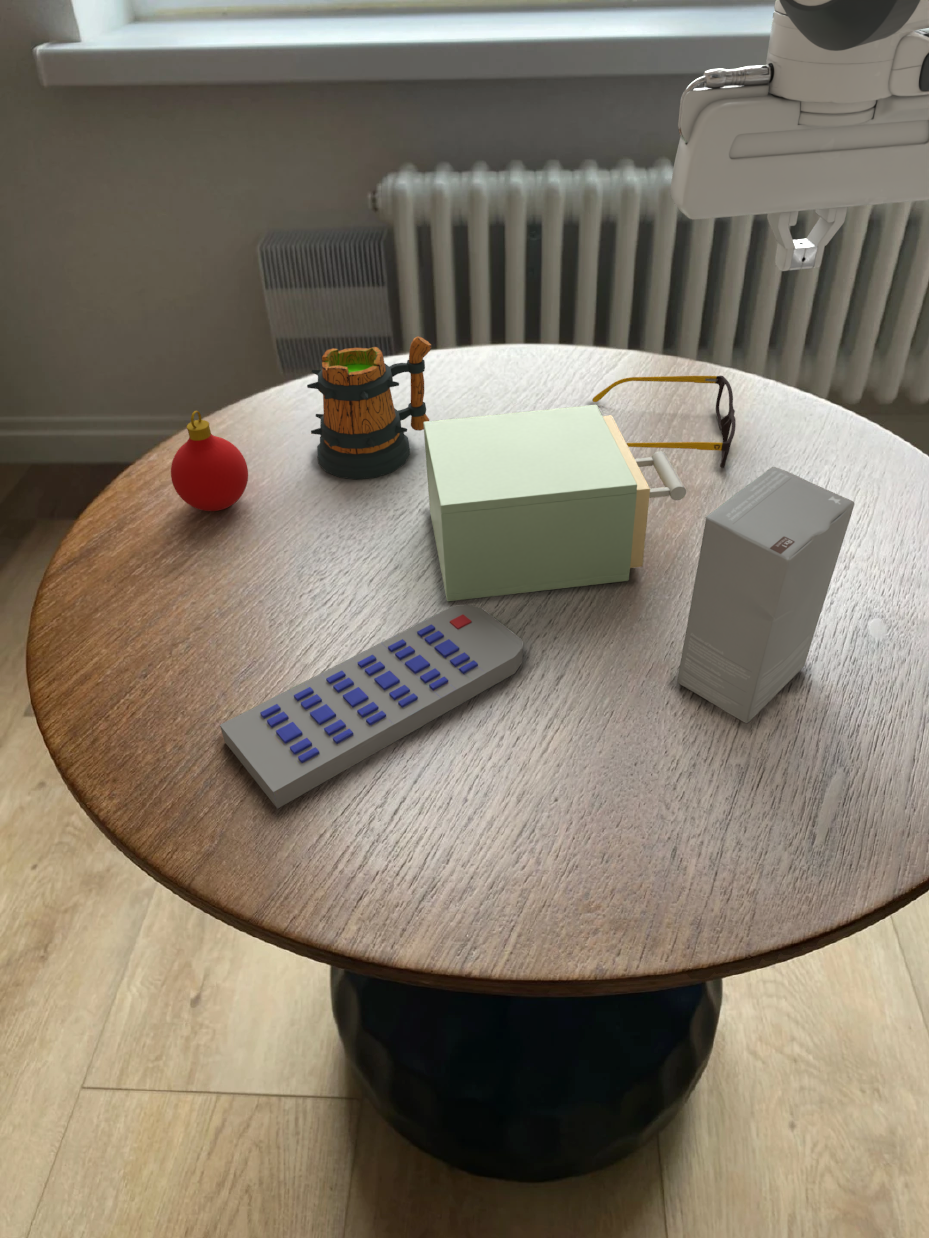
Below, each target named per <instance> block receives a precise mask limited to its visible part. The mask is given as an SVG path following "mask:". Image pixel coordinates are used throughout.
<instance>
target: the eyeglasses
mask: <svg viewBox="0 0 929 1238" xmlns="http://www.w3.org/2000/svg"><path fill="white" fill-rule="evenodd" d="M628 382H629V383H630V382H659V383H661V382H663V383H664V382H665V383H694V384H716V385H718V391H717V397H716V402H715V414H716V418H717V422H718V427H719V430H720V431H721V438H722V442H718V441H717V442H716V441H715V442H713V441H711V442H710V441H671V442H670V441H668V442H667V441H665V442H663V441H662V442H659V441H658V442H626V443H627V445H628V447H629V448H650V449H685V450H699V451H719V452H721V459H720V465H719V467H720V468H724V467H725V465H726V462H727V459H728V456H729V453H730V448H731V445H732V442H733V439H734V437H735V432H736V425H737V423H736V420H737V419H736V417H735V409H734V393H733V389H732V386H731V384H730V382H729V381H728V379H727V378H726V376H725V377H724V376H723V375H667V376H665V375H664V376H662V375H661V376H631V377H624V378H621V379H619V380H615V381H614V382H613V383H611V384H610V385H608V386H607V387H606V388H604V389H603V390H601V391H600V392H599V393H597V394H595V396H593V398H592V403H597V402H599V401H601V399H602V398H604V397H605V396H606V395H607V394H608V393H610V391H611V390H612V389H613V388H615V387H617V386H619V385H621V384H625V383H628ZM725 386H726V388H727V393H728V412H727V414H726V415H725V416H724V417H722V416H721V411H720V403H721V400H722V395H723V391H724V388H725Z"/></svg>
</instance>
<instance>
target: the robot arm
mask: <svg viewBox="0 0 929 1238" xmlns="http://www.w3.org/2000/svg"><path fill="white" fill-rule="evenodd" d="M926 29H929V0H775V2H774V7H773V13H772V21H771V27H770V34H769V41H768V46H767V47H768V48H767V55H766V61H765V63H766V64H760V65H747V66H743V67H738V68H730V69H728V68H727V69H726V68H719V67H718V68H711V69H708V70H705V71H704V72H703V74H702V76H700V77H698V78H696V79H695V80H693V81H692V82H691V83H689V85H687V86H686V88H685V89H684V91H683V92H682V94H681V97H680V101H679V109H678V119H677V128H678V135H679V136H680V137H679V141H678V145H677V150H676V154H675V159H674V163H673V169H672V175H671V182H670V189H669V190H670V191H669V192H670V193H669V194H670V198H671V200H672V202H673V204H674V205H675V207H676V208H677V209H678V210H679V211H680V212H681V213H682V214H683V215H684V216H685V217H686V218H688V219H689V220H693V221H694V220H709V219H718V218H730V217H731V218H732V217H743V216H754V215H766V214H767V216H766V219H767V222H768V224H769V226H770V229H771V231H772V233H773V236H774V238H775V240H776V242H777V244H776V245H777V246H776V251H775V257H774V264H775V267H776V268H777V269H778V270H779V271H780V272H788V271H797V270H811V269H818V268H820V267H821V265H822V261H823V256H824V252H825V251H824V250H825V246H827V245H828V244H829V243H830V241H832V239H833V237H834V236H835V235H836V233H837V232H838V231H839V230H840V228H841V227H842V226H843V225H844V223H845V221H846V216H847V212H848V208H849V207H862V206H863V207H864V206H874V205H886V204H896V203H908V202H920V201H929V32H927V31H924V30H926ZM700 85H702V86H703V87H698V86H700ZM814 210H815V214H816V215H817V216H819V218H818V220H817V221H816V223H815V224H814V226H813V228H812V229H811V230H810V232H809V234H808V235H807V237H806V238H798V239H793V236H792V234H791V231H790V228H789V227H791V226H792V227H795V226H796V225H797V222H798V217H799V212H803V211H814Z"/></svg>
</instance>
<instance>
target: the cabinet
mask: <svg viewBox="0 0 929 1238" xmlns="http://www.w3.org/2000/svg"><path fill="white" fill-rule="evenodd" d="M603 416H604V415H603V414H602V412H601V410H600V408H599V406H598V405H597V404H587V405H577V406H567V407H559V408H558V407H557V408H549V409H538V410H528V411H518V412H507V413H499V414H498V413H497V414H489V415H488V414H486V415H478V416H477V415H476V416H467V417H458V418H448V419H447V418H445V419H440V420H439V419H438V420H429V421H426V422H423V425H424V430H423V436H424V437H423V438H424V451H425V464H426V476H427V489H428V492H427V493H428V503H429V513H430V514H429V515H430V521H431V525H432V529H433V530H432V531H433V536H434V540H435V545H436V551H437V556H438V562H439V568H440V572H441V577H442V583H443V588H444V593H445V598H446V602H455V601H463V600H472V599H480V598H490V597H498V596H507V595H517V594H525V593H532V592H533V593H534V592H542V591H543V592H544V591H550V590H560V589H561V590H562V589H570V588H577V587H587V586H594V585H595V586H596V585H603V584H605V585H606V584H611V583H613V584H614V583H622V582H629V580H630V573H631V568H630V563H631V551H632V540H633V529H634V518H635V507H636V495H637V483H636V481H635V479H634V477H633V475H632V473H631V471H630V469H629V468H628V466H627V464H626V462H625V460H624V458H623V456H622V454H621V452H620V450H619V448H618V446H617V444H616V442H615V440H614V438H613V436H612V434H611V432H610V430H609V428H608V426H607V424H606V422H605V420H604V418H603Z"/></svg>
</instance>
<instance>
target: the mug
mask: <svg viewBox="0 0 929 1238" xmlns="http://www.w3.org/2000/svg"><path fill="white" fill-rule="evenodd" d="M431 349H432V344H431V343H430V342H429V341H428V340H426V339H425V338H423V337H421V336H416V337H414V338H413V339H412V341H411V343H410V346H409V351H408V359H407V360H406V362H397V363H393V364H391V365H388V364H386V363H385V358H384V355H383V351H382V350H381V349H380V348H379V347H378V346H373V347H369V348H366V347H351V348H344V349H338V348H336V347H333V348H329V349H326V350H325V352H323V355H322V356H321V369H312V370H311V373H312V374H314V375H316V376H317V381H315V382H312V383H309V384H307V385H306V387H307V389H312V390H317V391H318V392H320V393H321V394H322V404H323V405H322V406H323V408H322V409H323V411H322V412H323V413H315V417H316V418H317V419H319V420H320V424H319V425H320V427H319V428H315V429H312V430H310V434H311V435H319V444H318V445H317V446H316V454H317V462H318V465H319V466H320V467H321V468H322V470H323V471H324V472H326V473H328V474H330V475H332V476H335V477H338V478H342V479H349V480H350V479H351V480H363V479H365V480H366V479H372V478H373V479H375V478H378V477H382V476H385V475H387V474H391V473H393V472H395V471H396V470H398V469H399V468H401V467H402V466H404V465H405V464H406V463H407V461H408V459H409V457H410V456H411V448H410V447H411V446H410V441H409V437H408V436H407V435H406V434H405V433H406V432H408V428H406V427H403V426H402V421H404V420H406V419H408V418H409V417H410V427H411V429H412V430H414V431H420V432H421V431H424V425H423V422H426V421H430V418H429V417H428V416H427V414H426V413H427V405H426V402H424V397H425V377H424V372H425V370H426V363H425V359H424V358H425V357H426V356H427V355H428V354H429V352H431ZM403 373H409V374H410V403H408V404H407V405H408V406H407V407H406V408H402V409H396V408H395V405H394V400H393V396H392V392H391V388H394V387H395V388H396V387H399V386H400V382H398V381H394V377H395V376H397V375H399V374H403Z"/></svg>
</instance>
